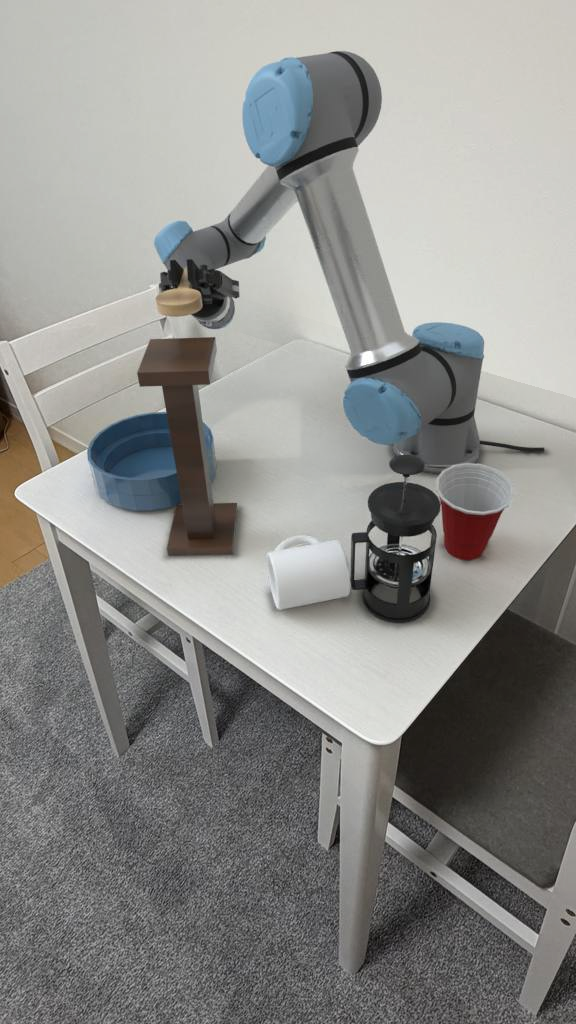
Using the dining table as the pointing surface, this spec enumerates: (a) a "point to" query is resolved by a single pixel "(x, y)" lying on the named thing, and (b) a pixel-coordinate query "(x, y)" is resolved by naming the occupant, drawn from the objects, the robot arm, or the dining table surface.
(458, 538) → the plastic cup
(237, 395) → the dining table surface
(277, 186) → the robot arm
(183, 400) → the stand
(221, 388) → the dining table surface
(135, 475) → the bowl
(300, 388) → the dining table surface
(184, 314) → the spoon
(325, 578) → the mug
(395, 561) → the french press
